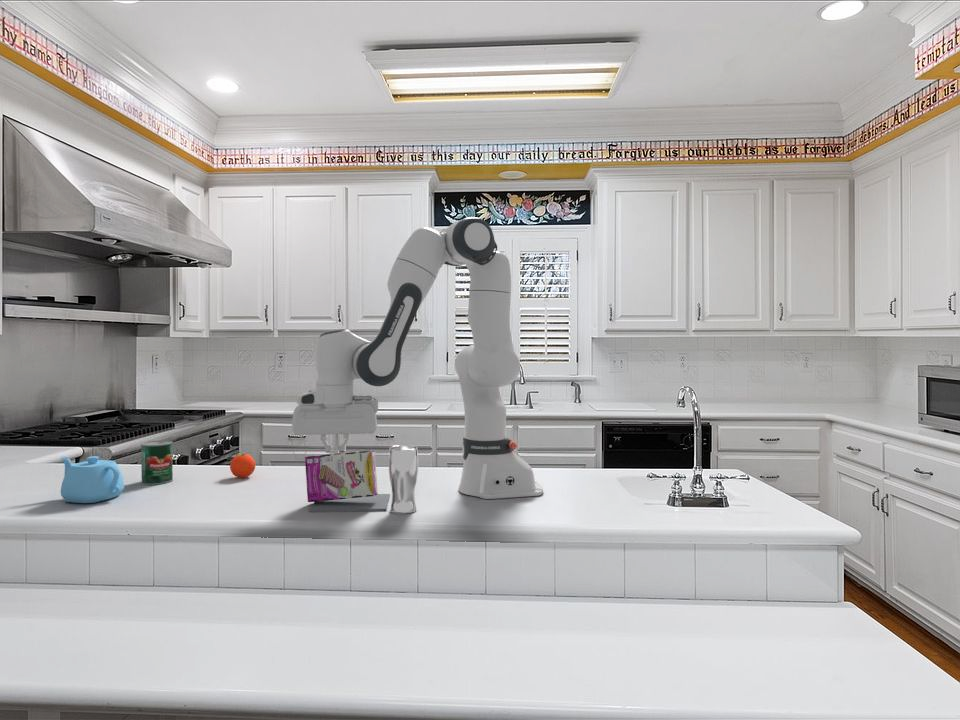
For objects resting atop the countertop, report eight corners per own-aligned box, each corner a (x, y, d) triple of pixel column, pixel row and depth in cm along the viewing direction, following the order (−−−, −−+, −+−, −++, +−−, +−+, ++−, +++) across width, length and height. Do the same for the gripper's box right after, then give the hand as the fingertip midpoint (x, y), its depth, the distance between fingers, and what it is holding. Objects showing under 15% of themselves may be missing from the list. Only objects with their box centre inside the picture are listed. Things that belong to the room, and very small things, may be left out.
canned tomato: (155, 486, 173) (155, 445, 173) (134, 483, 176) (134, 443, 175) (179, 479, 180) (178, 441, 180) (158, 477, 183) (158, 439, 183)
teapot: (81, 450, 167) (138, 453, 163) (82, 490, 168) (138, 495, 163) (37, 459, 155) (96, 463, 151) (38, 502, 156) (97, 508, 151)
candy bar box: (303, 456, 153) (371, 449, 153) (309, 456, 158) (374, 449, 158) (307, 503, 151) (375, 496, 152) (312, 501, 156) (378, 494, 157)
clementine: (223, 477, 184) (223, 453, 184) (245, 473, 189) (245, 449, 189) (237, 481, 179) (237, 456, 178) (260, 477, 184) (260, 453, 184)
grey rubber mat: (389, 495, 164) (389, 493, 164) (386, 510, 150) (386, 508, 150) (318, 496, 162) (319, 494, 162) (308, 512, 148) (308, 509, 148)
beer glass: (391, 506, 154) (391, 444, 153) (419, 506, 153) (420, 445, 153) (386, 514, 147) (386, 449, 146) (416, 514, 146) (416, 450, 146)
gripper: (378, 394, 158) (379, 449, 159) (295, 395, 157) (296, 450, 157) (377, 396, 152) (377, 453, 153) (289, 397, 150) (290, 455, 151)
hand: (335, 452), depth 155 cm, fingers closed
